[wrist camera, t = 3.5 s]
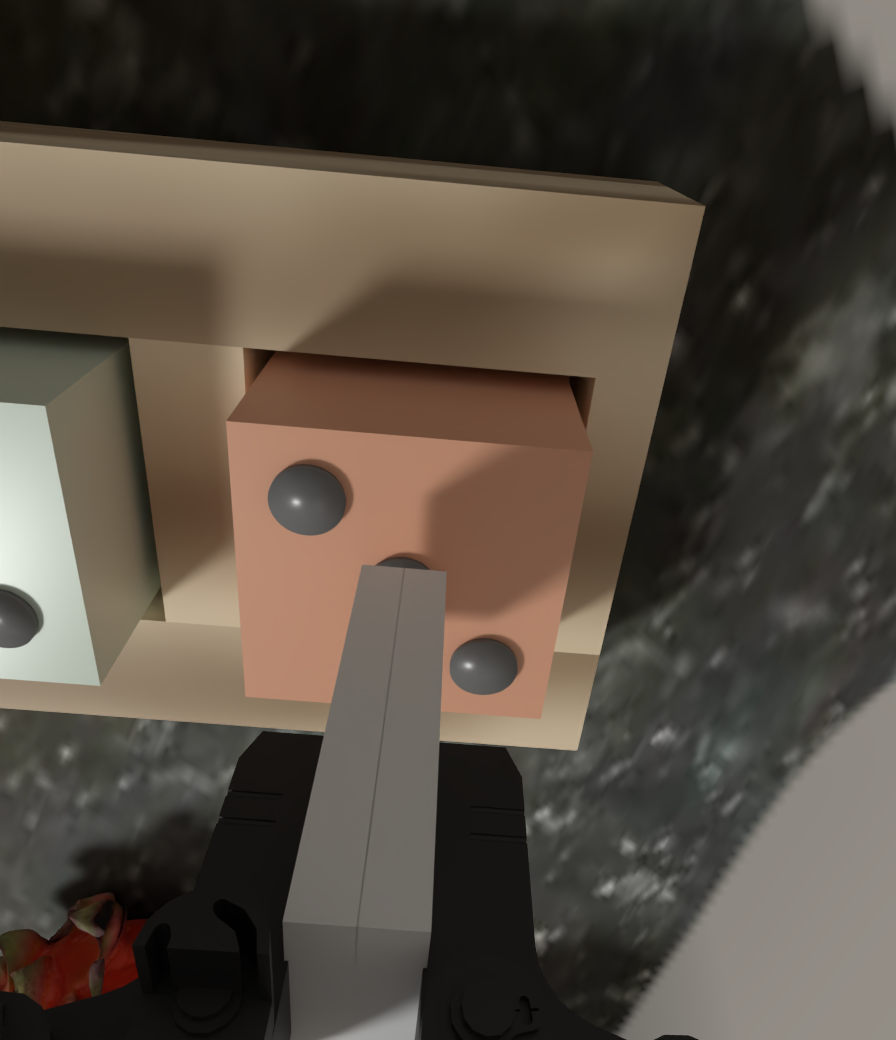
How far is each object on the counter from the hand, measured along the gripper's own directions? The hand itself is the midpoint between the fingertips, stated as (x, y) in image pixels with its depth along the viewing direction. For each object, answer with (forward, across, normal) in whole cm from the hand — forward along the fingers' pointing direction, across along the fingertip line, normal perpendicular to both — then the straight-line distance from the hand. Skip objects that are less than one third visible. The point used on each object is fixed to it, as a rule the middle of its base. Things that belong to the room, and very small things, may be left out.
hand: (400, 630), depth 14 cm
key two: (+5, -10, 0) cm, 11 cm away
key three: (+5, 0, 0) cm, 5 cm away
